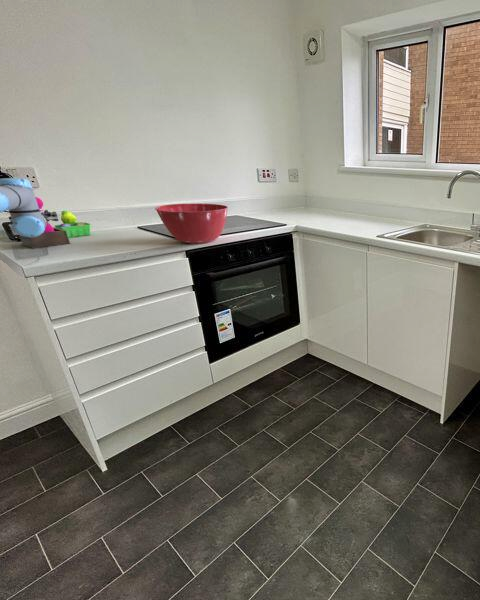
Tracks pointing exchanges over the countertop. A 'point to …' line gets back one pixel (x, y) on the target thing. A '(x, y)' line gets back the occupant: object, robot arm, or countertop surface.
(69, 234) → the fruit basket
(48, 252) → the countertop surface
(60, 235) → the holder
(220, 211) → the mixing bowl
